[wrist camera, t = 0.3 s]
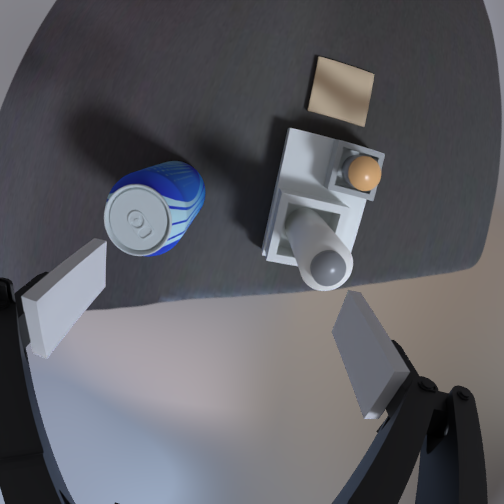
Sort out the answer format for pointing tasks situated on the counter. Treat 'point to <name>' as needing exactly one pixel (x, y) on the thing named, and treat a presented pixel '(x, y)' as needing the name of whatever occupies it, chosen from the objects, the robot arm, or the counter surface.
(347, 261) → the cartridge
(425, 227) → the counter surface
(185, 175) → the beer can
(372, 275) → the counter surface
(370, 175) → the tan dome
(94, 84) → the counter surface
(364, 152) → the housing
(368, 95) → the coaster
